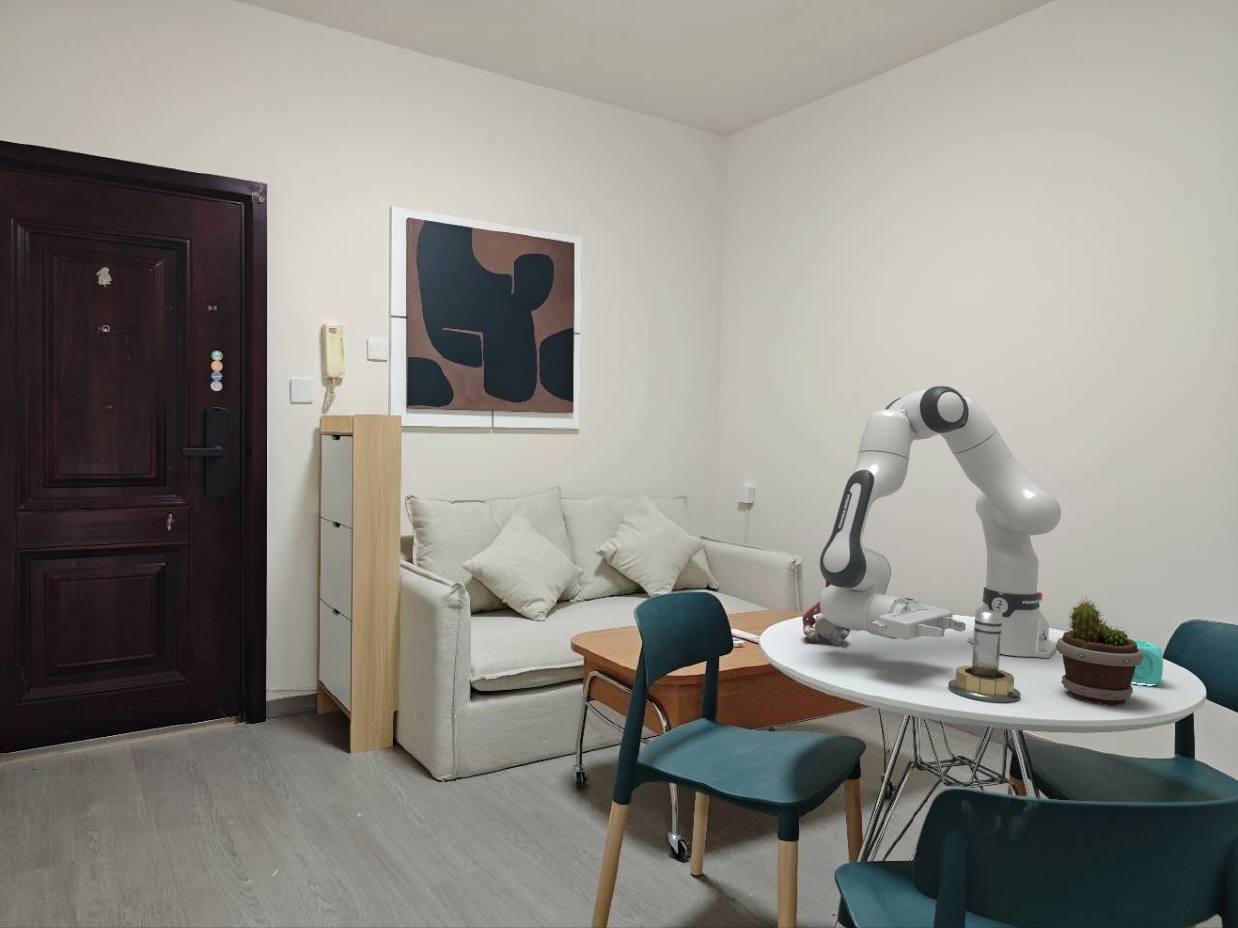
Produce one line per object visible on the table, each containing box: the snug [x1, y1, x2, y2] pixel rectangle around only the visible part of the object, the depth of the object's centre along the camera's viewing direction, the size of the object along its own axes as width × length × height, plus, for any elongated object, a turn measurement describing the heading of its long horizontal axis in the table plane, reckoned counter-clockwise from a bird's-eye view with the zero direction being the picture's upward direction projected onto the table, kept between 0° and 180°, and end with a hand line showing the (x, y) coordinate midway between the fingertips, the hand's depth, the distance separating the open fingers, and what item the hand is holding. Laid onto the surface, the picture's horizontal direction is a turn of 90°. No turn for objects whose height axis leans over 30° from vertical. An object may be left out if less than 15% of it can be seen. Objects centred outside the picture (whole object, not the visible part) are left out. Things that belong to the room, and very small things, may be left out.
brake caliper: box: [802, 600, 851, 646], centre depth 202 cm, size 11×11×12 cm
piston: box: [971, 609, 1002, 679], centre depth 167 cm, size 5×5×15 cm
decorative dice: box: [1131, 639, 1164, 685], centre depth 181 cm, size 8×8×8 cm
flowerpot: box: [1056, 597, 1144, 706], centre depth 167 cm, size 14×15×20 cm
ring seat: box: [947, 665, 1022, 704], centre depth 167 cm, size 13×13×4 cm
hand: (953, 630), depth 172 cm, fingers open, 8 cm apart
